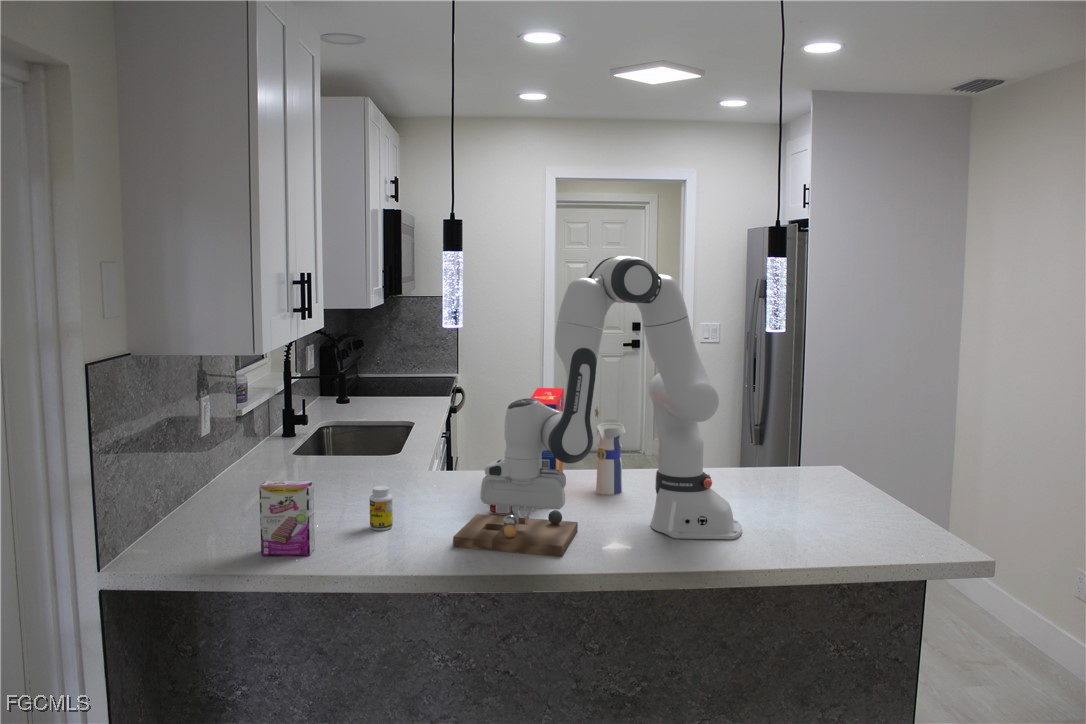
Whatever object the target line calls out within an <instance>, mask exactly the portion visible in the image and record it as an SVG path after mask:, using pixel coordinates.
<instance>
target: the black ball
mask: <svg viewBox="0 0 1086 724" xmlns="http://www.w3.org/2000/svg"><path fill="white" fill-rule="evenodd" d="M547 517H548V519H547V520H549V521H550V523H552V524H559V523H560V522H561V521H563V515H562V513H561V512H560V510H558V509H553V510H552V511H550V512H549V513H548V516H547Z"/></svg>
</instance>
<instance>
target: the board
mask: <svg viewBox="0 0 1086 724" xmlns="http://www.w3.org/2000/svg"><path fill="white" fill-rule="evenodd" d="M505 517H506V516H497V515H494V514H491V515H490V514H482V513H481V514H479V513H476V514H475V515H474V516H473V517H471V519H470V520H469V521H467V522H466V524H465V525H464V526H462V528H460V530H459V531H458V532H457V533H455V534H454V535H453V537H452V542H453V543H452V547H453V548H459V549H460V548H462V549H471V550H473V549H474V550H484V551H494V552H495V551H496V552H507V553H515V552H519V553H518V554H527V553H528V555H529V554H530V555H539V556H550V557H551V556H552V557H553V556H554V557H563V556H564V554H565V553H566V551H567V550H568V548H569V546H570V545H571V543H572V541H573V540H574V538H575V537H576V535H577V533H578V530H579V528H578V525H579V524H578V521H569V520H561V522H560V523H559V524H552V523H550V521H549V519H545V518H544V519H542V518H531V517H529V524H528V525H522V524H517V526H516V527H515V528H516V530H517V532H516V535H515V536H514V537H512V538H508V537H506V536H505V534H504V528H505V526H504V523H503V521H504V518H505ZM515 517H516V516H515ZM516 518H517V517H516Z"/></svg>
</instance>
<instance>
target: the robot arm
mask: <svg viewBox="0 0 1086 724" xmlns="http://www.w3.org/2000/svg"><path fill="white" fill-rule="evenodd" d="M685 302H686V301H685V299H684V297H683V294H682V290H681V288H680V286H679V283H678V282H677V280H676V279H675V278H674V277H672V276H671V275H668V274H659V273H657V271H655V269H654V267H652V265H651V263H649V262H648V261H647V260H645V259H643V258H641V257H638V256H630V255H619V256H618V255H617V256H616V257H615V256H614V257H607V258H606V259H603V260H602V261H601V262H599V263H598V264H597V265H596V267H595V268H594V269H593V271H592V272H591V273H590V274H589V275H588V276H587V277H579V278H576V279H574V280H572V281H571V282H570V283H568V286H567V289H566V291H565V294H564V296H563V299H562V302H561V304H560V308H559V312H558V316H557V321H556V326H555V334H554V349H555V351H556V353H557V355H558V356H559V358H560V361H561V362H562V365H563V366H564V370H565V373H566V386H565V391H564V406H563V412H562V411H559V410H555V409H552V408H550V407H548V406H546V405H544V404H542V403H541V402H539V401H538V400H537V399H533V398H531V397H530V398H521V399H520V398H519V399H517V400H514V401H513V402H510V404H509V405H508V407H507V408H506V412H505V418H504V429H503V430H504V432H503V433H504V435H503V436H504V441H505V450H504V454H503V456H504V457H503V458H500V459H497V460H492V461H491V462H489V463H488V464H487V465H486V466H485V468H484V474H485V476H484V477H483V478H482V480H481V485H480V500H481V502H482V503H483V505H490V504H492V505H506V506H512V511H513V513H512V514H513V515H514V516H515V517H517V524H522V525H528V524H529V518H530V515H531V514H532V513H533V511H534V509H535V508H536V509H548V510H549V509H550V510H561V509H562V508H564V506H565V504H566V492H565V487H566V485H567V477H566V474H565V473H564V471H563V472H561V471H560V470H557V469H554V470H551V469H542V468H541V467H542V452H543V451H545V450H549V451H551V452H552V454H553V455H554V456H555V457H556V458H557V459H558V460H559V461H561V462H563V464H576V463H579V462H580V461H582V460H584V459H585V458H586V457H588V455H589V454H590V452H591V450H592V448H593V444H594V436H593V430H592V425H591V413H592V406H593V405H592V404H593V398H594V390H595V382H596V375H597V365H598V359H599V358H598V357H599V352H600V347H601V341H602V337H603V332H604V326H605V320H606V316H607V313H608V312H609V310H610V308H611V307H612V305H614V303H619V304H626V303H629V304H635V305H636V306H637V307H638V309H639V310H638V311H639V313H640V315H641V321H642V326H643V330H644V333H645V338H646V343H647V344H646V345H647V348H648V352H649V356H650V358H651V359H652V361H653V363H654V364H655V367H656V369H657V370H658V373H657V374H655V375H654V376H653V377H652V379H651V381H650V383H649V386H648V394H649V397H650V400H651V402H652V405H653V412H654V419H655V424H656V431H657V439H658V441H657V442H658V447H657V448H658V449H657V450H658V451H657V452H658V453H657V454H658V458H657V459H658V461H657V464H658V465H657V470H656V473H655V484H654V485H655V487H654V488H655V489H654V490H655V493H656V495H655V504H654V505H655V506H654V509H653V513H652V518H651V520H650V523H649V524H650V525H649V526H650V527H651V528H652V529H653V530H654V531H657V532H659V533H663V534H665V535H667V536H669V538H671V539H688V540H689V539H691V540H692V539H693V540H695V539H696V540H735V539H738V538H739V537H740V536H741V535H742V531H743V529H742V524H741V523H740V522H739V521H738V520H736V519H734V513H733V510H732V507H731V505H730V503H729V502H728V501H727V500H726V499H725V498H724V497H722V496H721V495H719V494H718V492H716V491H715V490H714V489H713V488H711V487H712V486H713V480H712V477H711V475H710V474H709V473H706V472H704V445H705V444H704V439H703V437H702V435H701V433H700V427H699V425H698V423H702V422H706V421H708V420H710V419H711V418H713V416H714V415H716V413H717V411H718V408H719V404H720V397H719V394H718V392H717V390H716V389H715V387H714V385H713V384H712V383H711V381H710V379H709V377H708V374H707V372H706V369H705V366H704V364H703V362H702V359H701V358H700V355H699V353H698V350H697V347H696V344H695V340H694V337H693V332H692V328H691V327H692V326H691V323H690V318H689V313H688V309H687V306H686V303H685ZM560 473H561V474H560ZM520 507H522V508H523V507H524V508H525V512H527V513H526V515H522V514H521V512H520V511H519V509H520Z"/></svg>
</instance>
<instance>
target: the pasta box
mask: <svg viewBox="0 0 1086 724" xmlns="http://www.w3.org/2000/svg"><path fill="white" fill-rule="evenodd" d="M530 398H533V399H537V400H538V401H539V402H541V403H542V404H544V405H546V406H548V407H550V408H552V409H555V410H559V411H562V412H563V406H564V399H565V389H564V387H561V388H559V387H537V388H536V389H535V391H534V392H533V393H532V394H531V397H530ZM541 468H542V469H551V470H554V469H557V470H560V471H561V472H563V473H564V462H561V461H559V460H558V459H557V458H556V457H555V456H554V455H553V454H552V452H551V451H549V450H545V451H543V452H542V467H541ZM560 474H561V473H560Z"/></svg>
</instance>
